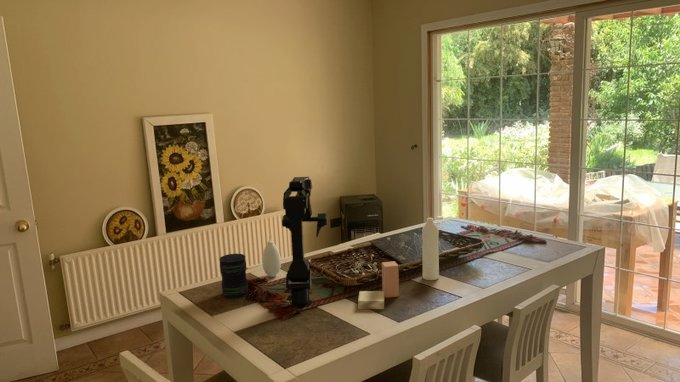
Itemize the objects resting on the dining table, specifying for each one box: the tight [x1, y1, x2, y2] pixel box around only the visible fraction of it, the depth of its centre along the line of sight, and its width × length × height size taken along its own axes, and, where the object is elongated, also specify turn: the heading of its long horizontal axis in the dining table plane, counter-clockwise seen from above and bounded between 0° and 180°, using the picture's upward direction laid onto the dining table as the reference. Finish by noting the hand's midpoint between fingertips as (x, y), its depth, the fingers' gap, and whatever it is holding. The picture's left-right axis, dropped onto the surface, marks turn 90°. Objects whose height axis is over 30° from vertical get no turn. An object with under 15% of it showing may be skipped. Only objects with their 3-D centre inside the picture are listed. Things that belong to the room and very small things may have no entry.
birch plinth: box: [357, 290, 385, 310], centre depth 181 cm, size 9×9×3 cm
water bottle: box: [421, 215, 444, 281], centre depth 202 cm, size 9×6×25 cm
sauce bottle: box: [261, 237, 282, 278], centre depth 211 cm, size 8×8×18 cm
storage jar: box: [219, 253, 249, 300], centre depth 194 cm, size 10×10×15 cm
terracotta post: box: [381, 260, 400, 298], centre depth 188 cm, size 5×5×12 cm
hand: (306, 237), depth 214 cm, fingers open, 9 cm apart
